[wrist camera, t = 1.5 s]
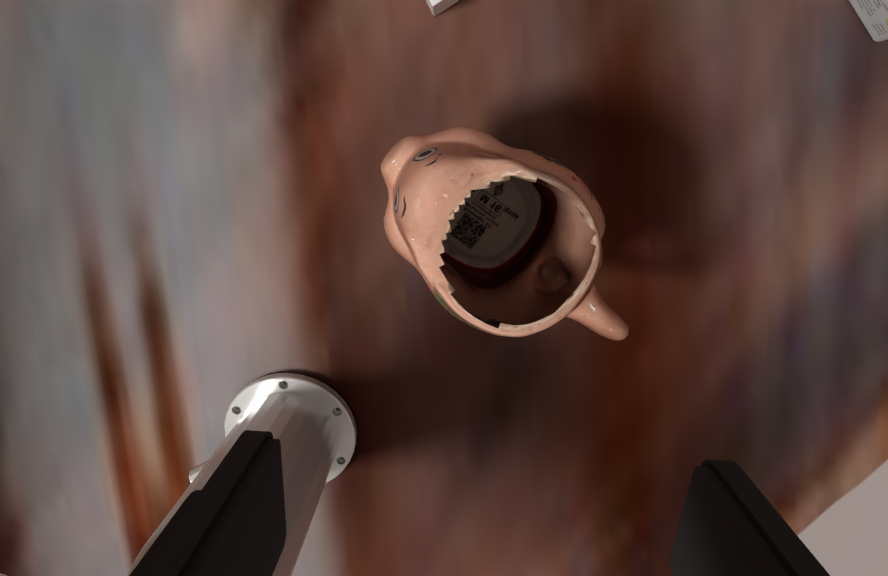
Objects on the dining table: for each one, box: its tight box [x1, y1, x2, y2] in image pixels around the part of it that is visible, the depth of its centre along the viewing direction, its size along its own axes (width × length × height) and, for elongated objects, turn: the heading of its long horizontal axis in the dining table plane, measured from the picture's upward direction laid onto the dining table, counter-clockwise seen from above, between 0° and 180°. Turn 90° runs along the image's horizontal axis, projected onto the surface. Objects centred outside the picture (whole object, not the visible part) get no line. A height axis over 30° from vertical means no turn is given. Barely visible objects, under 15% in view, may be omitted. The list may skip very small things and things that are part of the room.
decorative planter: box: [381, 126, 629, 340], centre depth 33 cm, size 20×12×14 cm, turn 59°
